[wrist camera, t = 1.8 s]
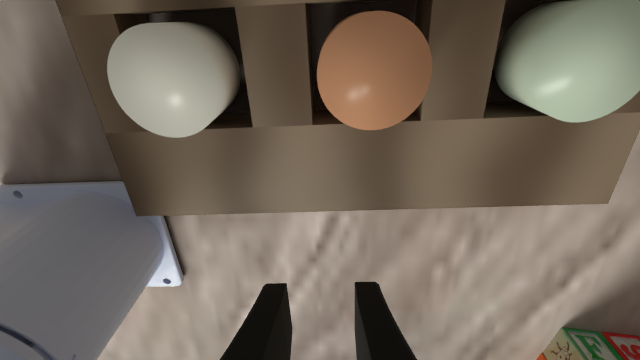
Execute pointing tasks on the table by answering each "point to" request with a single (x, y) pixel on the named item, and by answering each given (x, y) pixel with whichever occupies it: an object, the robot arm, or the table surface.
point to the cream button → (173, 76)
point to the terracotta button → (374, 69)
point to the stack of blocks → (591, 346)
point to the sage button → (572, 58)
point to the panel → (342, 140)
